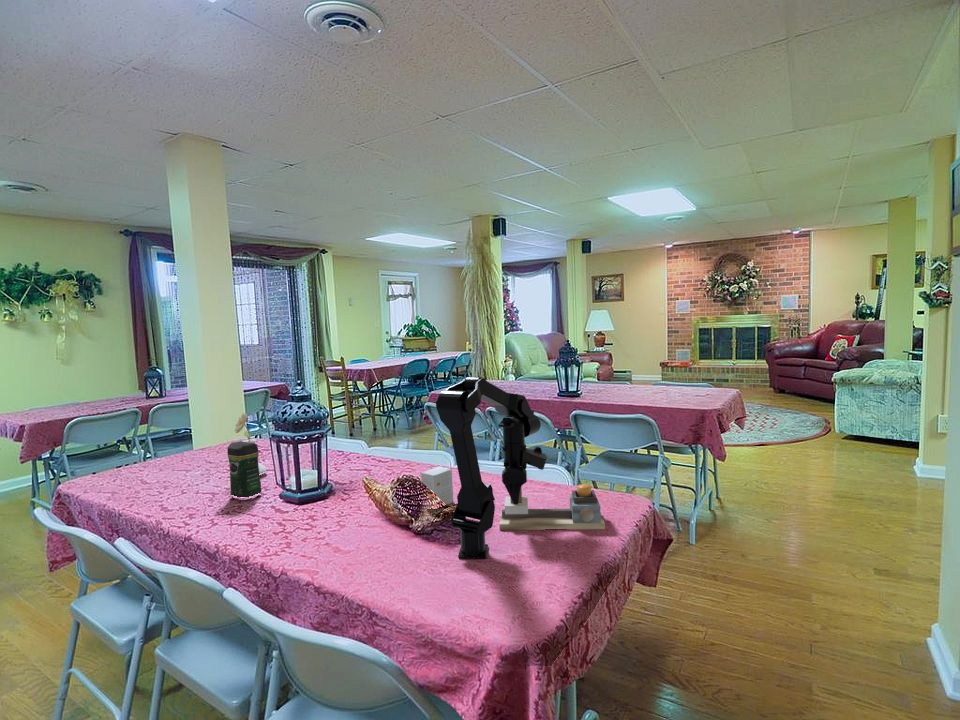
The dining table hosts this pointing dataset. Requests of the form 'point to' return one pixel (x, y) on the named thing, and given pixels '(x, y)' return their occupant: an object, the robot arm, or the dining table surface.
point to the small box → (439, 482)
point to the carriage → (516, 505)
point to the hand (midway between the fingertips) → (516, 498)
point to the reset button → (583, 490)
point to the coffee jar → (244, 469)
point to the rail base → (558, 516)
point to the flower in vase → (239, 427)
